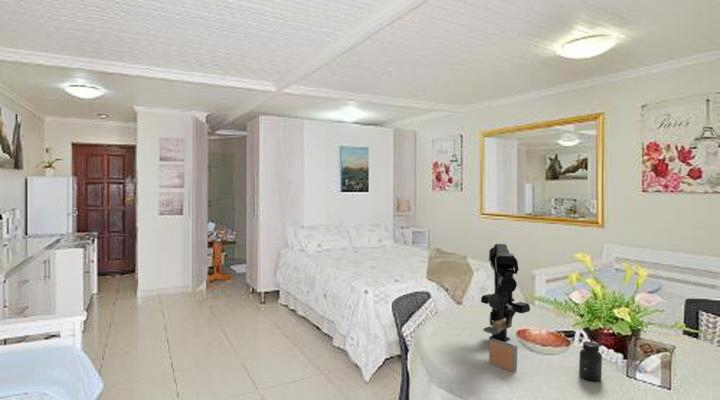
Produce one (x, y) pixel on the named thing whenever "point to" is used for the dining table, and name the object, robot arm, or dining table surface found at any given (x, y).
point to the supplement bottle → (590, 362)
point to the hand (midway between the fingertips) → (504, 324)
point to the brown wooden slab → (497, 326)
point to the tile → (503, 355)
